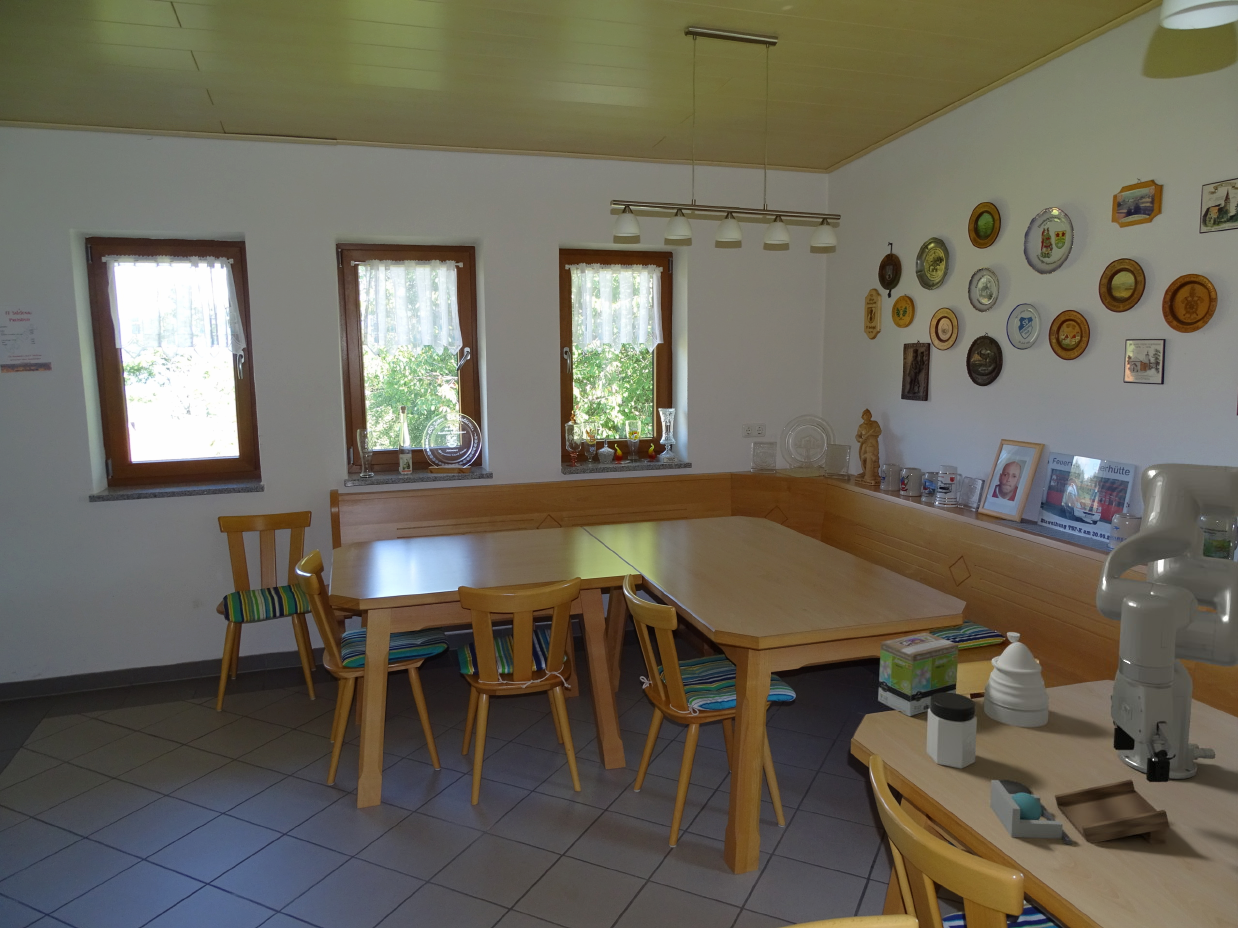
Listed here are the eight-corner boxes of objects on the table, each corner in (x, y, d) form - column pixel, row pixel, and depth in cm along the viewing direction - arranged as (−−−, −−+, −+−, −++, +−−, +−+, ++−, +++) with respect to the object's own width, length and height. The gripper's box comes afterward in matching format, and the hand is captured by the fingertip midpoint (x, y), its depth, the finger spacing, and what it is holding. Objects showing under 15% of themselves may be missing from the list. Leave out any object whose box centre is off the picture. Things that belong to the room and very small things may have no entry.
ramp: (1133, 811, 135) (1135, 779, 134) (1168, 846, 125) (1170, 811, 124) (1053, 809, 136) (1055, 777, 135) (1082, 843, 126) (1084, 808, 125)
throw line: (1038, 803, 137) (1038, 799, 137) (1071, 844, 125) (1071, 839, 125) (1033, 803, 137) (1033, 799, 137) (1066, 843, 125) (1066, 839, 125)
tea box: (911, 718, 172) (913, 654, 170) (877, 701, 181) (878, 640, 179) (957, 704, 179) (959, 642, 177) (922, 688, 187) (924, 630, 186)
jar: (955, 772, 148) (958, 713, 147) (918, 755, 155) (920, 698, 153) (982, 759, 153) (985, 701, 152) (945, 743, 160) (947, 688, 158)
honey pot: (972, 703, 179) (975, 628, 176) (1024, 700, 180) (1027, 626, 178) (1005, 729, 166) (1009, 648, 164) (1061, 725, 167) (1065, 645, 165)
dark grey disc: (1022, 782, 144) (1022, 780, 144) (1037, 801, 138) (1037, 798, 138) (987, 781, 145) (987, 779, 145) (1000, 799, 139) (1000, 797, 139)
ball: (1032, 814, 134) (1002, 812, 134) (1034, 787, 133) (1005, 785, 134) (1045, 831, 129) (1014, 829, 129) (1048, 803, 128) (1017, 802, 129)
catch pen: (1037, 807, 136) (1038, 781, 135) (1061, 838, 127) (1063, 809, 126) (990, 806, 137) (991, 779, 136) (1011, 836, 128) (1012, 808, 127)
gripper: (1094, 648, 136) (1090, 738, 139) (1152, 693, 119) (1146, 794, 122) (1139, 647, 135) (1134, 738, 138) (1204, 692, 118) (1196, 794, 121)
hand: (1139, 764), depth 130 cm, fingers open, 9 cm apart
